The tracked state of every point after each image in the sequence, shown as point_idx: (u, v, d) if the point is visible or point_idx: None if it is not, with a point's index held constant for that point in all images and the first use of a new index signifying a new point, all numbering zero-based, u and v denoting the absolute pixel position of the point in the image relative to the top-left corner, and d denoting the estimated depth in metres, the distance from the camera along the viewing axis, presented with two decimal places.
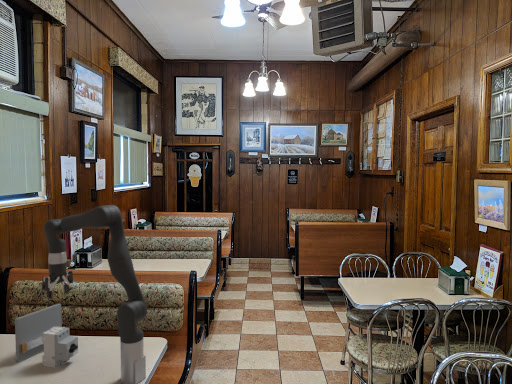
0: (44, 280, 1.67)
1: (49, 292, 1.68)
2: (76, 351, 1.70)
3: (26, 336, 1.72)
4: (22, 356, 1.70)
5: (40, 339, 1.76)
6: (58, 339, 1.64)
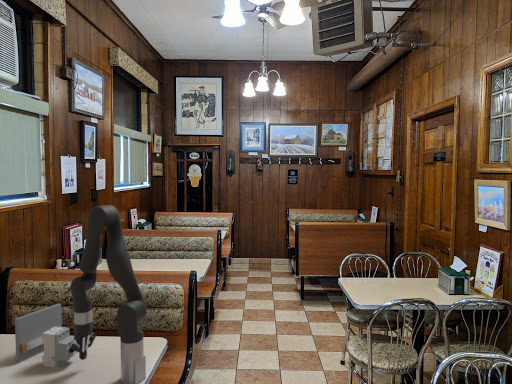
0: (72, 346, 1.57)
1: (82, 353, 1.61)
2: (76, 351, 1.70)
3: (26, 336, 1.72)
4: (22, 356, 1.70)
5: (40, 339, 1.76)
6: (58, 339, 1.64)
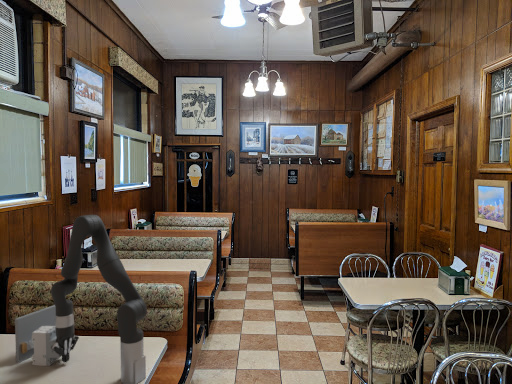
0: (54, 349, 1.62)
1: (64, 356, 1.66)
2: None
3: (26, 336, 1.72)
4: (22, 356, 1.70)
5: None
6: (49, 337, 1.66)
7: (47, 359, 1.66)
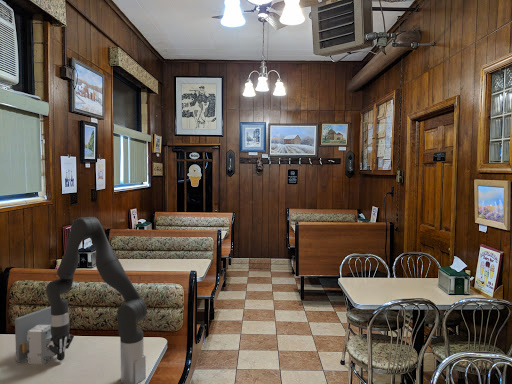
0: (49, 348, 1.63)
1: (59, 354, 1.67)
2: None
3: (26, 336, 1.72)
4: (22, 356, 1.70)
5: None
6: (45, 336, 1.67)
7: (42, 358, 1.67)
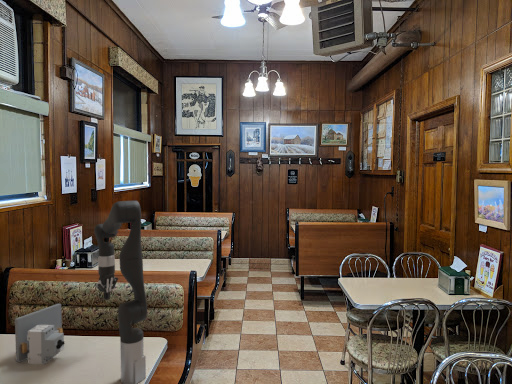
0: (98, 286, 1.75)
1: (106, 293, 1.80)
2: (62, 347, 1.73)
3: (26, 336, 1.72)
4: (22, 356, 1.70)
5: None
6: (45, 336, 1.67)
7: (42, 358, 1.67)
